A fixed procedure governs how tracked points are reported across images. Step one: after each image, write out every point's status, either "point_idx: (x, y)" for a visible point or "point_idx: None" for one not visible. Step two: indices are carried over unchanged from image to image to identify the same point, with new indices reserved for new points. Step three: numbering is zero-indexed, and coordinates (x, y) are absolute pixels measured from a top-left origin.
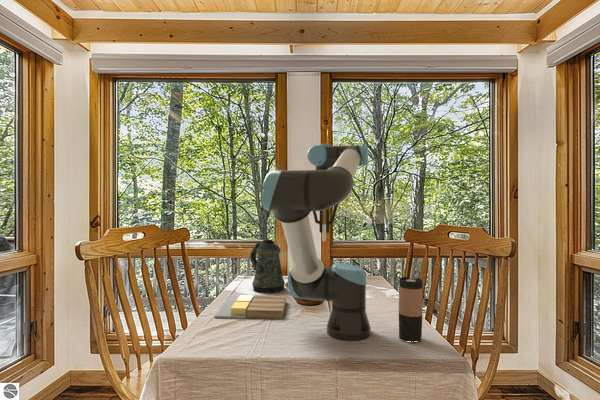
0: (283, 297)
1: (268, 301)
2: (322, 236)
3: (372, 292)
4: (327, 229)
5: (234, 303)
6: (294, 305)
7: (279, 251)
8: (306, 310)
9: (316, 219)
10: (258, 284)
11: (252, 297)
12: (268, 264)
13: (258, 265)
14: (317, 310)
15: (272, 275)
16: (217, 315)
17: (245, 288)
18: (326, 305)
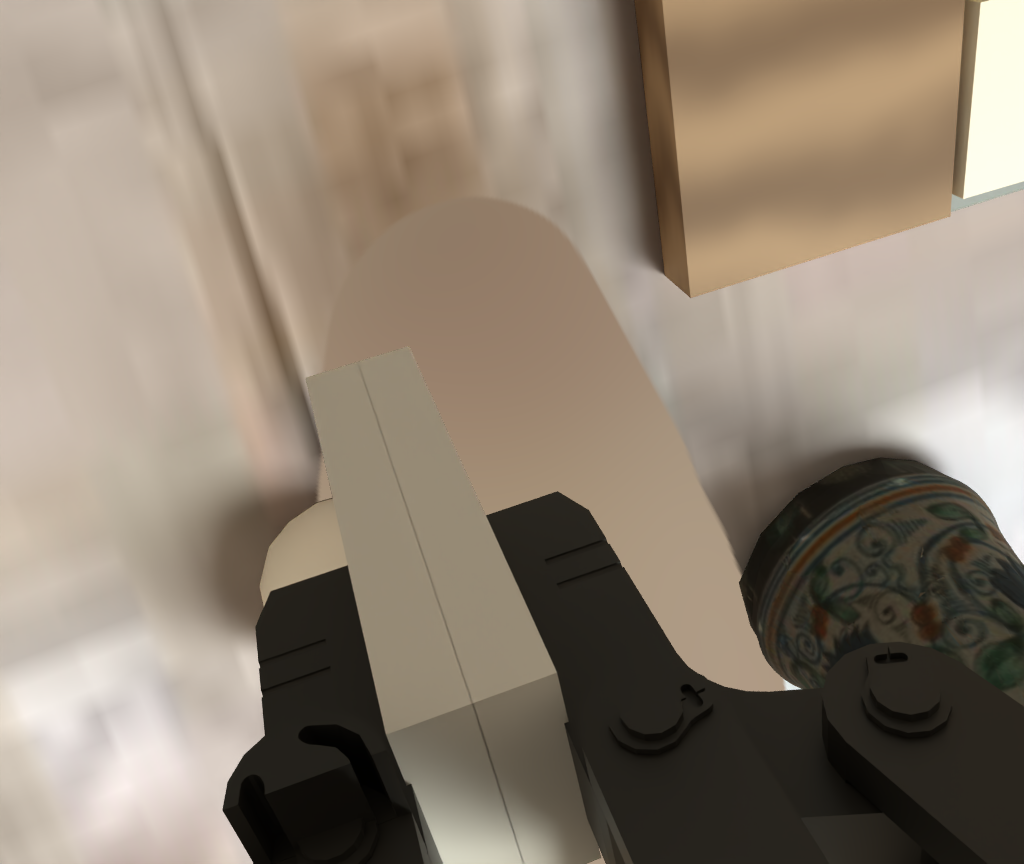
0: (707, 241)
1: (819, 58)
2: (434, 411)
3: (20, 824)
4: (317, 661)
5: None
6: (581, 222)
7: None
8: (441, 104)
9: (995, 794)
10: (955, 489)
11: (968, 127)
12: (998, 641)
13: None
14: (339, 139)
15: (897, 582)
16: None
17: (1009, 514)
18: (301, 324)
